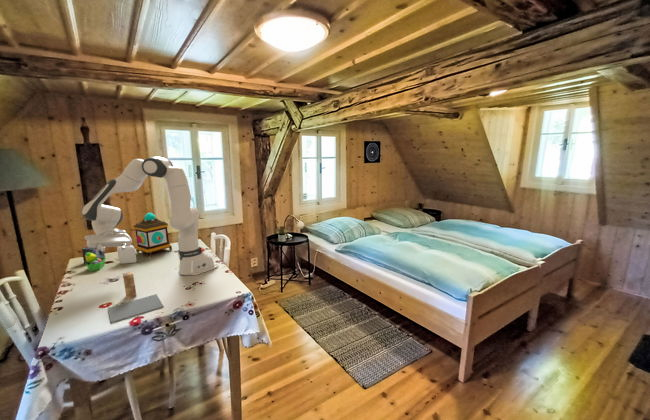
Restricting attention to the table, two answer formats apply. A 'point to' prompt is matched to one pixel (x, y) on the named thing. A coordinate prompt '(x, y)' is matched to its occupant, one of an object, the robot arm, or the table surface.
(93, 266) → the fruit basket
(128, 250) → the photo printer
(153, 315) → the table surface
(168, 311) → the table surface
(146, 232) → the decorative lantern
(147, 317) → the table surface
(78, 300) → the table surface
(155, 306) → the slate mat
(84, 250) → the small box
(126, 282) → the oak post
